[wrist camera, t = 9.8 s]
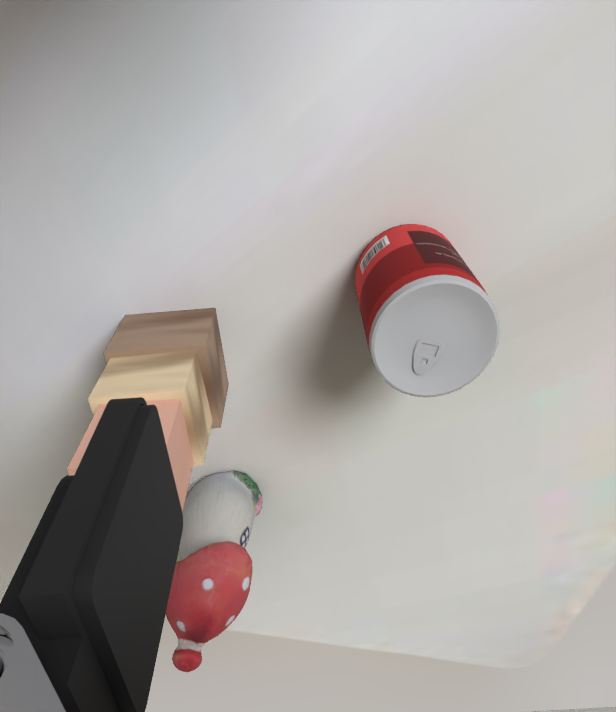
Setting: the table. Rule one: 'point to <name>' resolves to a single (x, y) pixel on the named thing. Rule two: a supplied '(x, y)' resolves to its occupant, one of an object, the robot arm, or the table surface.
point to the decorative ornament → (212, 562)
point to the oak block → (161, 389)
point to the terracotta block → (174, 440)
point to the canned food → (424, 312)
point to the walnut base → (178, 346)
